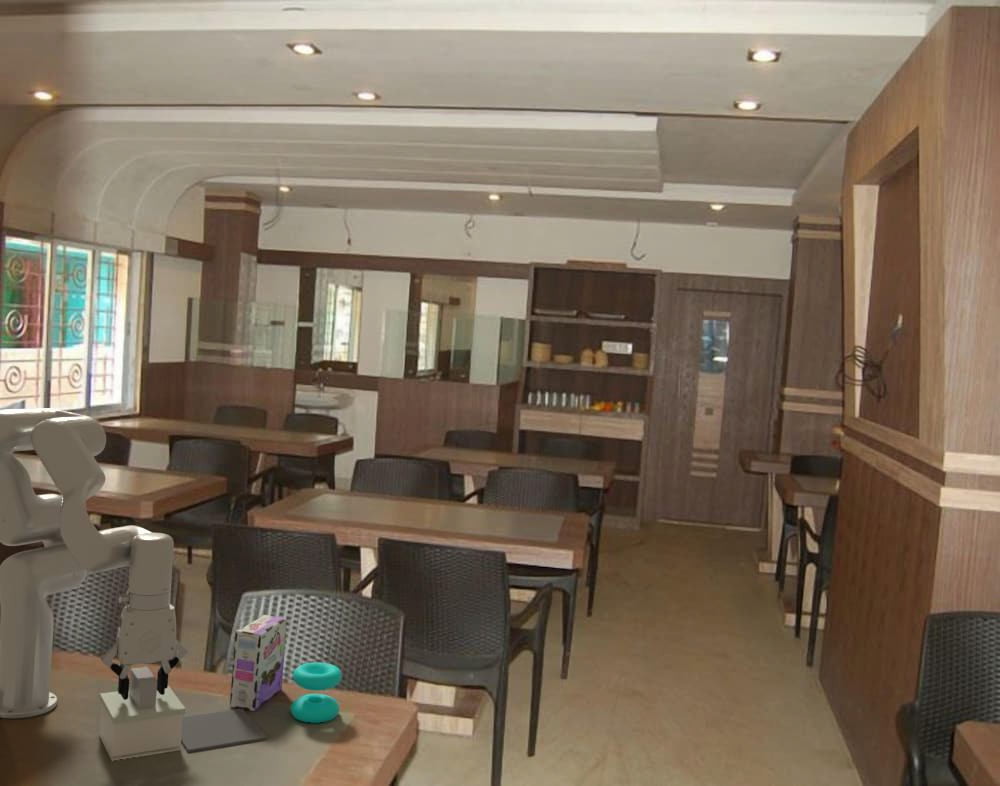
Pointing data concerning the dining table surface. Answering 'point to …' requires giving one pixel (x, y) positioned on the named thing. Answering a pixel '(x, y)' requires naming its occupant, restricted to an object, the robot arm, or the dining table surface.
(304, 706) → the donuts
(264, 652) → the candy box
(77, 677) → the dining table surface
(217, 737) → the rubber mat
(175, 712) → the lid
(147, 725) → the storage box
